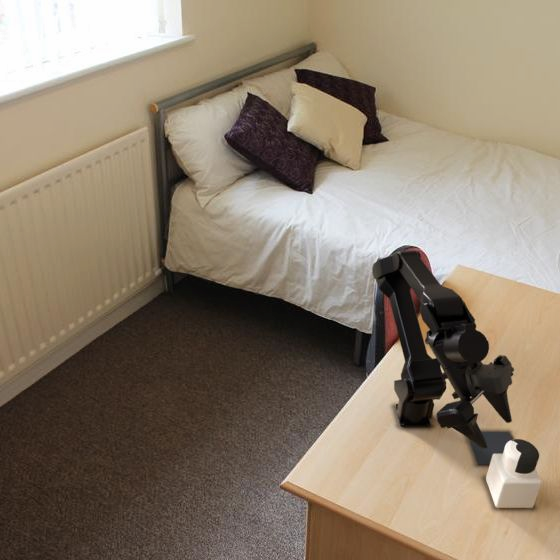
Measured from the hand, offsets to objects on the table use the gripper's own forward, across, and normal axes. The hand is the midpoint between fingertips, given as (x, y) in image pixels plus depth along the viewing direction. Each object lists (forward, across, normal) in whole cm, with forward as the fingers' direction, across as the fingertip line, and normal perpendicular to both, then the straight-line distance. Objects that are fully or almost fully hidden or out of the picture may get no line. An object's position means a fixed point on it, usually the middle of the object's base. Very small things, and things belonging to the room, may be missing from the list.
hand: (497, 434), depth 131 cm
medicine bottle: (+12, 0, +5) cm, 13 cm away
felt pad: (+7, +9, +10) cm, 15 cm away
